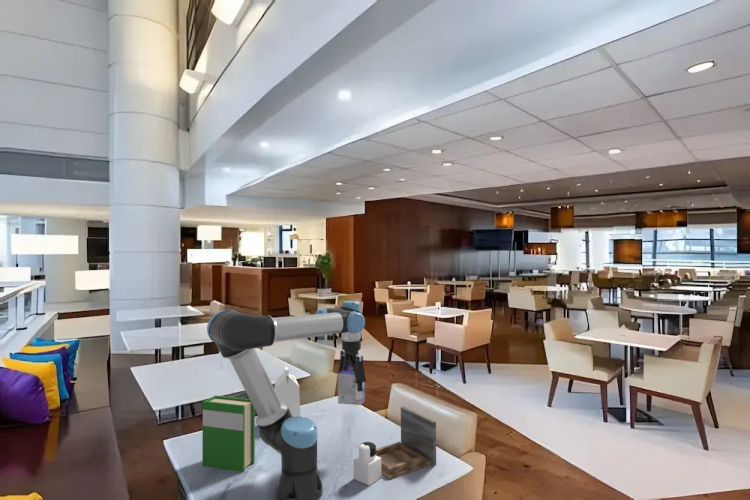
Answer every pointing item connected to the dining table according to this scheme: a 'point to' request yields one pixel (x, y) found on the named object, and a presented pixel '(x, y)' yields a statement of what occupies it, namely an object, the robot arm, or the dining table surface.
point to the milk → (288, 392)
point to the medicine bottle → (367, 464)
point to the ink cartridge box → (348, 388)
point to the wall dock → (410, 446)
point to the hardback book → (228, 433)
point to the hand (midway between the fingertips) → (351, 395)
